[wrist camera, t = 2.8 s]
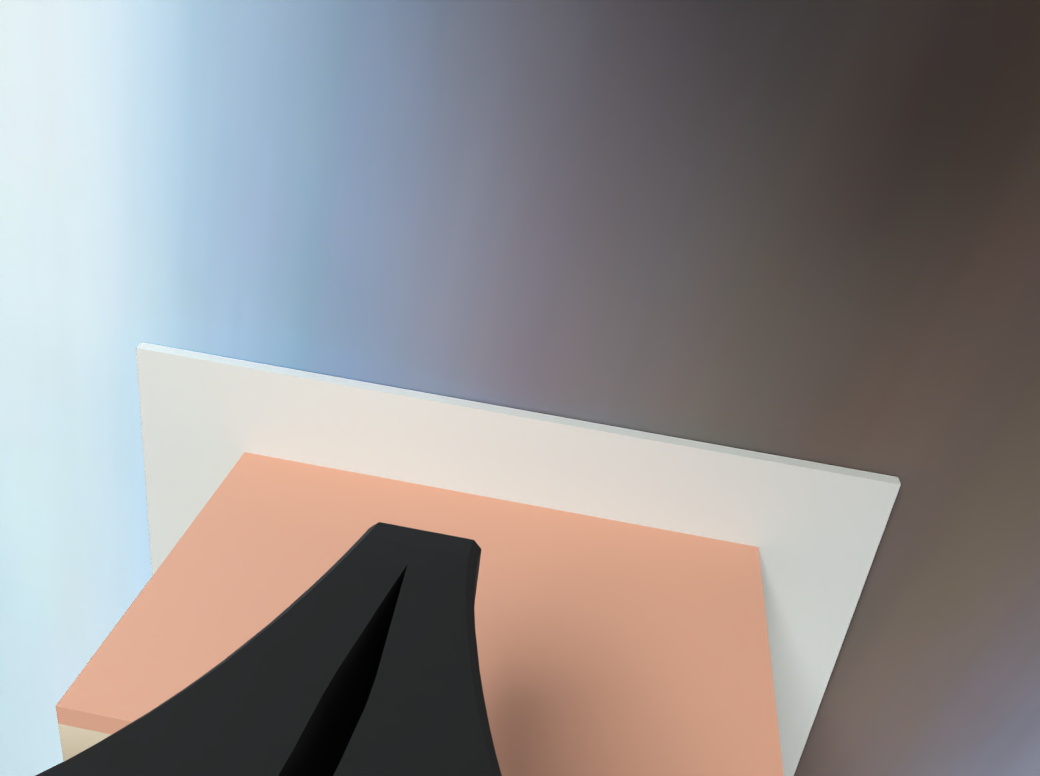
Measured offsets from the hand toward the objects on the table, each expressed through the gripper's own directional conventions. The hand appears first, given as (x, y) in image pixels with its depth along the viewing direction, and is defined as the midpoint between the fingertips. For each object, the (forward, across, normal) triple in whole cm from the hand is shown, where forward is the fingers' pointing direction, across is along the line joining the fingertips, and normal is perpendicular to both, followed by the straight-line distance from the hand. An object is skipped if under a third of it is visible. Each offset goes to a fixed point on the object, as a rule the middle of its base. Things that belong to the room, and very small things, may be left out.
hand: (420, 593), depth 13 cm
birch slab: (+9, 0, +6) cm, 11 cm away
